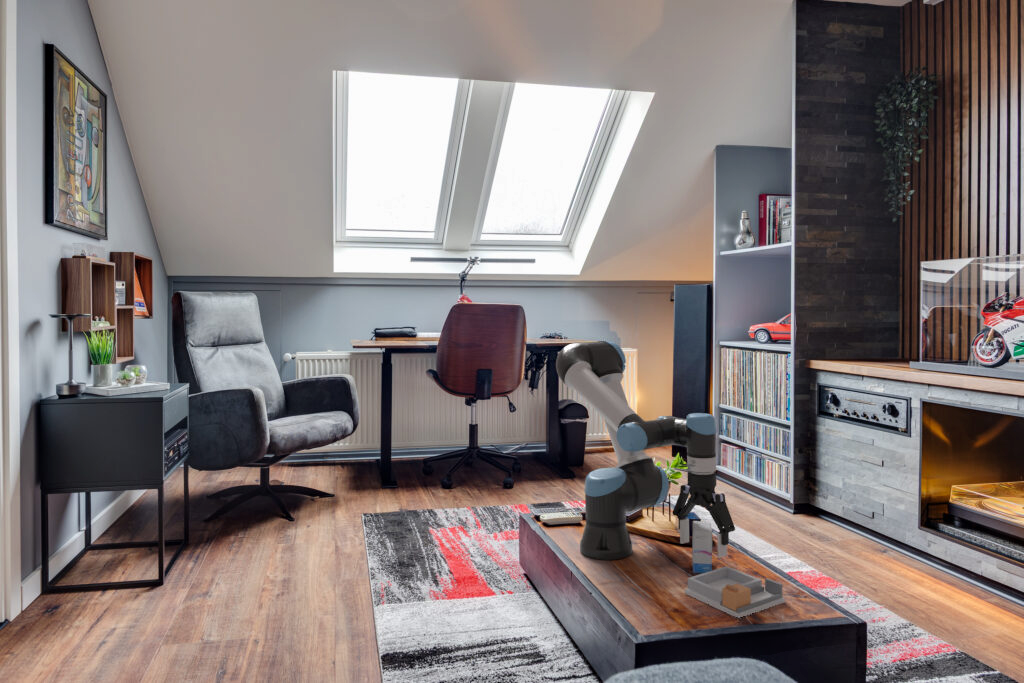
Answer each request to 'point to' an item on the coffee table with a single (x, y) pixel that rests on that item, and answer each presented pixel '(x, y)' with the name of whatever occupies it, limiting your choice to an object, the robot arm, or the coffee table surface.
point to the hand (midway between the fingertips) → (703, 549)
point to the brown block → (736, 596)
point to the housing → (713, 581)
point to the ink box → (702, 547)
